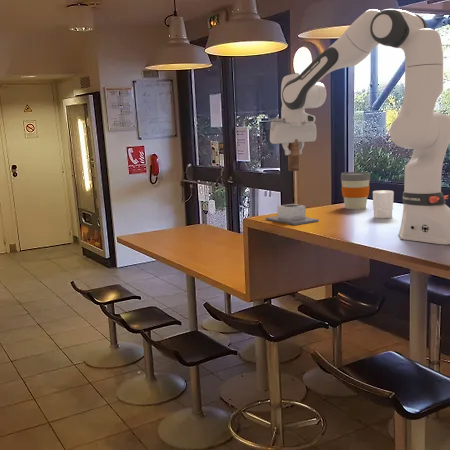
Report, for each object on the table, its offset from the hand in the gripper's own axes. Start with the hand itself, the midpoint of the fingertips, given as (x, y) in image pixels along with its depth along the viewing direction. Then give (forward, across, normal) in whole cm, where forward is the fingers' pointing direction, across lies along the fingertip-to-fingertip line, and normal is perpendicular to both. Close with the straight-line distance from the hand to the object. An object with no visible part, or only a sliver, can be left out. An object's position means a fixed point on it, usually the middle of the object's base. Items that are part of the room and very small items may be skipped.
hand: (293, 154), depth 214 cm
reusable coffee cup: (+26, +38, +6) cm, 47 cm away
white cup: (+26, +29, -19) cm, 43 cm away
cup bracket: (+26, -2, 0) cm, 26 cm away
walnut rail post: (+6, 0, 0) cm, 6 cm away
